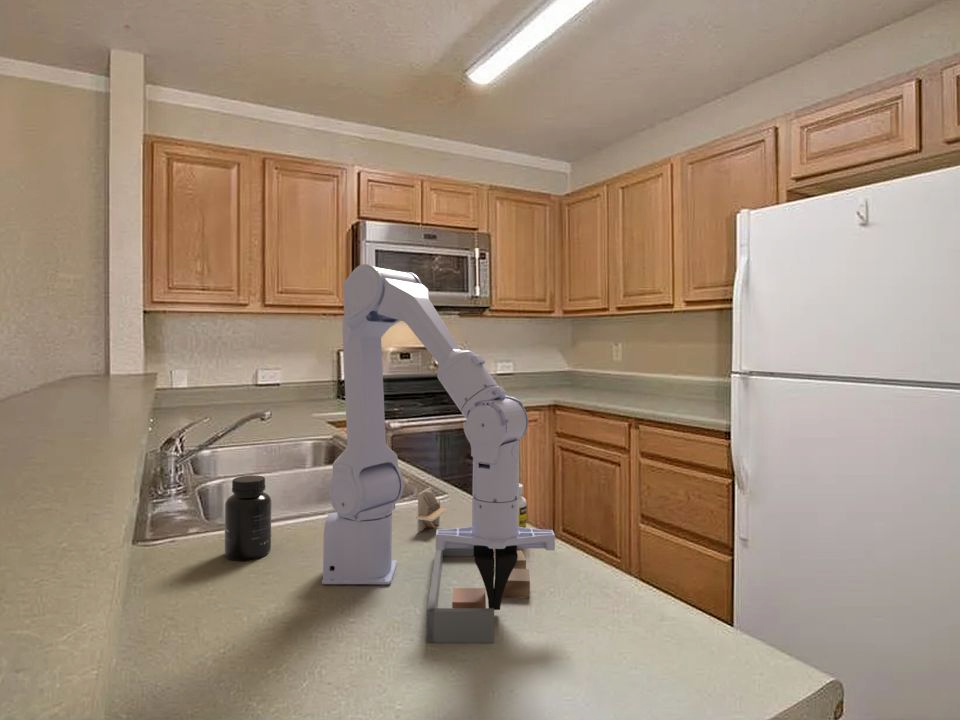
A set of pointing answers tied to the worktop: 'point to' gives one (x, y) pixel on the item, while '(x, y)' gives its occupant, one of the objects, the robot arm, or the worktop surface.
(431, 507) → the architectural model
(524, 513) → the supplement bottle
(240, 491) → the supplement bottle
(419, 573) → the worktop surface
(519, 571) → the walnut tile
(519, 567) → the oak tile
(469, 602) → the cherry tile
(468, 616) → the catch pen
